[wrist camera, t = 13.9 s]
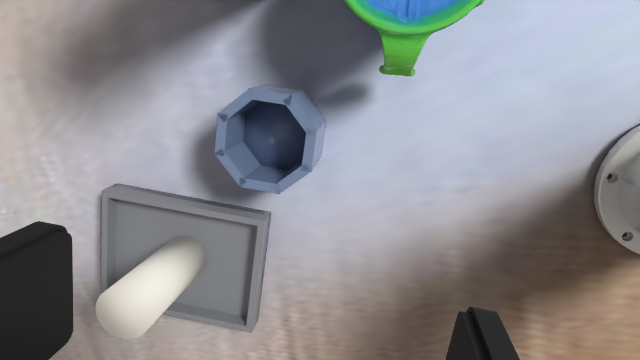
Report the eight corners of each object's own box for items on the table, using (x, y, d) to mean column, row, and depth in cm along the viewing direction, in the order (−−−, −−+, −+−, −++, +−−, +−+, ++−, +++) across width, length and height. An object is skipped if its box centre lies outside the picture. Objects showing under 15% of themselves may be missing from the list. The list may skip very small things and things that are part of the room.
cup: (330, 94, 38) (321, 99, 33) (317, 180, 41) (307, 199, 35) (243, 80, 39) (219, 83, 33) (235, 166, 41) (211, 182, 36)
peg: (209, 241, 43) (152, 296, 32) (203, 281, 44) (146, 346, 33) (167, 231, 43) (97, 281, 32) (162, 270, 44) (93, 331, 34)
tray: (271, 212, 42) (264, 221, 40) (258, 318, 45) (251, 332, 43) (117, 183, 44) (101, 190, 41) (115, 288, 47) (100, 300, 44)
